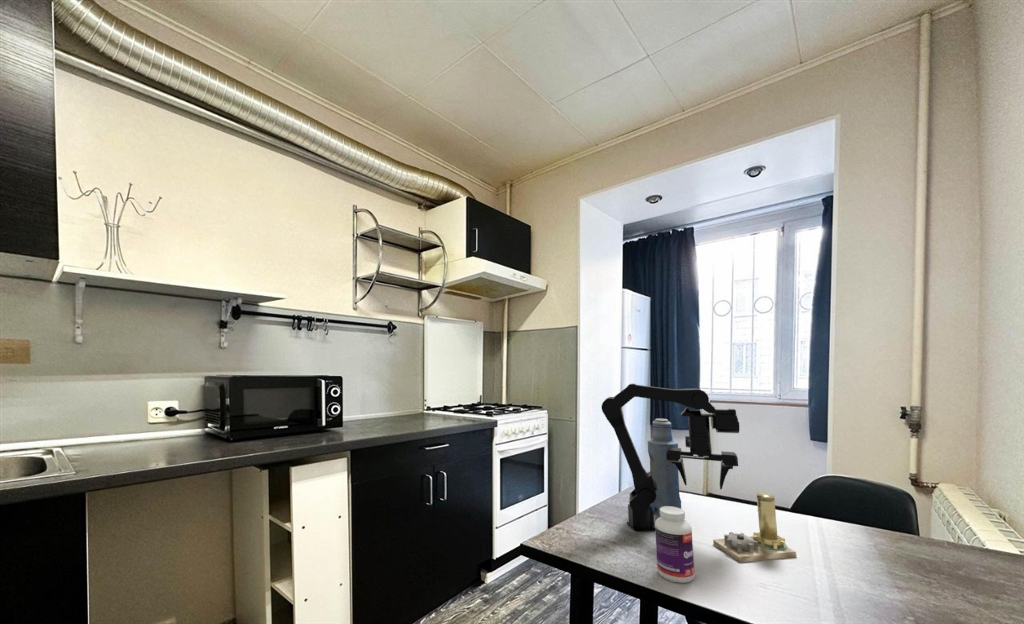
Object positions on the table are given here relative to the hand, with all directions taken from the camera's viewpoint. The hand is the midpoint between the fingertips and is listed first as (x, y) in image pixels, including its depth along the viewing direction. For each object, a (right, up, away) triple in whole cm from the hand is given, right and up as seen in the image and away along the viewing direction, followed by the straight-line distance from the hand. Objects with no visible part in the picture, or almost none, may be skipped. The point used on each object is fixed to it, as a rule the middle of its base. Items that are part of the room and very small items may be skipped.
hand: (703, 487), depth 116 cm
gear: (+13, -10, -10) cm, 19 cm away
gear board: (+8, -12, -12) cm, 18 cm away
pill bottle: (-18, -10, -24) cm, 31 cm away
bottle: (-5, -15, +16) cm, 22 cm away
